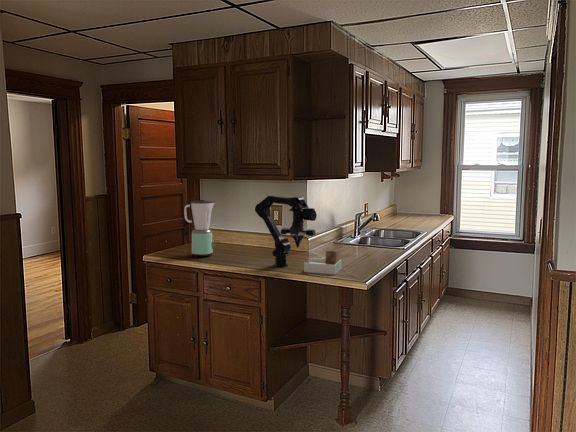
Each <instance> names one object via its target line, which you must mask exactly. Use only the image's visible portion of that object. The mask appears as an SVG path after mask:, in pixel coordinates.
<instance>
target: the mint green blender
mask: <svg viewBox="0 0 576 432" xmlns="http://www.w3.org/2000/svg"><path fill="white" fill-rule="evenodd" d="M215 203H216V201H211V200H205V199H199V200H194V201H193V200H192V201H190V203H189V204H186V205H185V206H184V208H183V209H184V211H183V214H184V220H185V221H186V222H187V223H190V224H193V228H194V229H193V230H192V231H191V255H192V256H194V258H198V257H207V258H210V257H211V255H213V254H214V248H215V247H216V240H214V238H213V237H214V236H213V231H212V229H211V228H210V225H211V217H212V211H213V208H214V205H215ZM187 208H190V213H191V219H188V212H187Z"/></svg>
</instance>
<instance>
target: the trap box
mask: <svg viewBox="0 0 576 432" xmlns="http://www.w3.org/2000/svg"><path fill="white" fill-rule="evenodd" d="M341 270H342V259H339V261H338V262H337V263H336V264H335V265H329V264H326V258H322V257H321V258H319V257H311V258H310V261H309V262H303V272H304V273H314V274H323V275H325V274H326V275H337V274H338V273H339V272H340V271H341Z"/></svg>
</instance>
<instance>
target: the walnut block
mask: <svg viewBox="0 0 576 432" xmlns="http://www.w3.org/2000/svg"><path fill="white" fill-rule="evenodd" d="M339 255H340V249H335V248H334V249H333V248H331V249H330V248H328V249H326V250H325V259H326V264H329V265H335V264H336V263H337V262H338V261H339V260H340V259H339V258H340V256H339Z"/></svg>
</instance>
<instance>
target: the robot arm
mask: <svg viewBox="0 0 576 432" xmlns="http://www.w3.org/2000/svg"><path fill="white" fill-rule="evenodd" d="M274 204H280V205H287V206H289V207H290V209H289V212H292V222H291V226H290V227H289V228H287V227H285V228H281V230H279V228H278V226H277V225H276V223H275V221H274V219H273V217H272V215H271V214H272V213H271V208H272V207H273V205H274ZM254 211H255V214H257V216H258V217H260V219H262V220H263V221H264V223H265V226H266V228H267V229H268V231H269V233H270V235H271V236H272V238H273V241H274V247H275V249H274V250H273V251H272V252H271V254H272V257H274V264H272V266H274V267H277V268H283V267H288V266H289V265H288V264H287V256H286V255H289V252H290V251H291V243H290V241H289V239H288V237H283V235H287V234H290V237H292V238H293V240H294V243H295V245H296V248H300V246H301V243H302V240H303V239H304V237H306V236H307V237H314V236H316V233H317V232H316V230H315V229H307V230H305V229H304V222H305V221H311V222H312V221H314V222H315V221H316V220H317V216H318V215H317V212H316V210H315V208H314V207H311V208H310V207H309V206H308V204H307V203H306V201H305V198H304V197H303V196H294V197H288V196H287V197H286V196H277V195H267V196H266V197H265V198H264V199H263V200H262V201H260V202H259V203H257V204H255V206H254Z"/></svg>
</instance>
